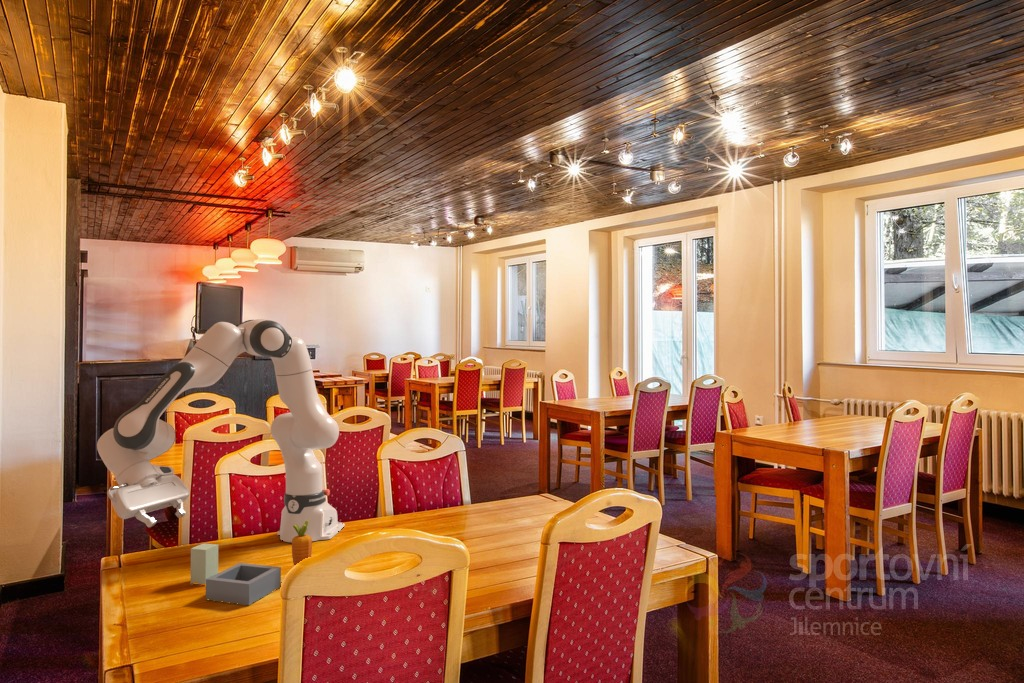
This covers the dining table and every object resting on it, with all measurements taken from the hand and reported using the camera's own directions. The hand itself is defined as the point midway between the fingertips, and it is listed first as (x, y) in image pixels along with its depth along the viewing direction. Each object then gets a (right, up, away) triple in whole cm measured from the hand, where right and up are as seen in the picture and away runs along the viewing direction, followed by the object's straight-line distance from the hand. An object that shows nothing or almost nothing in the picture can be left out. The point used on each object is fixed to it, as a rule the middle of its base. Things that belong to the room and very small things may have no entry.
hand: (168, 520), depth 168 cm
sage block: (+11, -15, -4) cm, 19 cm away
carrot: (+36, -15, -2) cm, 39 cm away
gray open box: (+25, -14, -12) cm, 31 cm away
